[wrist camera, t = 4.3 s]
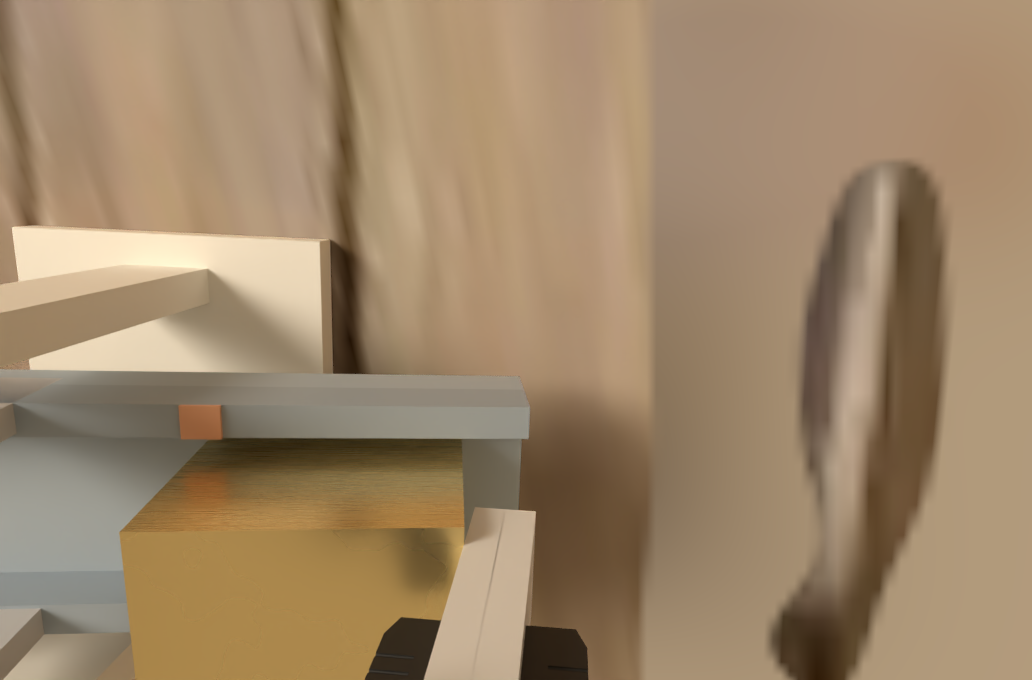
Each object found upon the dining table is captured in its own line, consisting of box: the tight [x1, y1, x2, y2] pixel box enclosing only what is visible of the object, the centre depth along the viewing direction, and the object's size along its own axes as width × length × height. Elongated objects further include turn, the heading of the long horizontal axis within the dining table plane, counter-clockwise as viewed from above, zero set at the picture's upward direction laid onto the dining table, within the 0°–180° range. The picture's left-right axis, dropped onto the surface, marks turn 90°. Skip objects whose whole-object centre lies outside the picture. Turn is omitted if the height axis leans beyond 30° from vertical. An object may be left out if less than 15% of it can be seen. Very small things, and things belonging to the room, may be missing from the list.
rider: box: [119, 438, 464, 680], centre depth 17 cm, size 4×7×6 cm, turn 88°
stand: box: [0, 226, 333, 680], centre depth 18 cm, size 14×11×16 cm
